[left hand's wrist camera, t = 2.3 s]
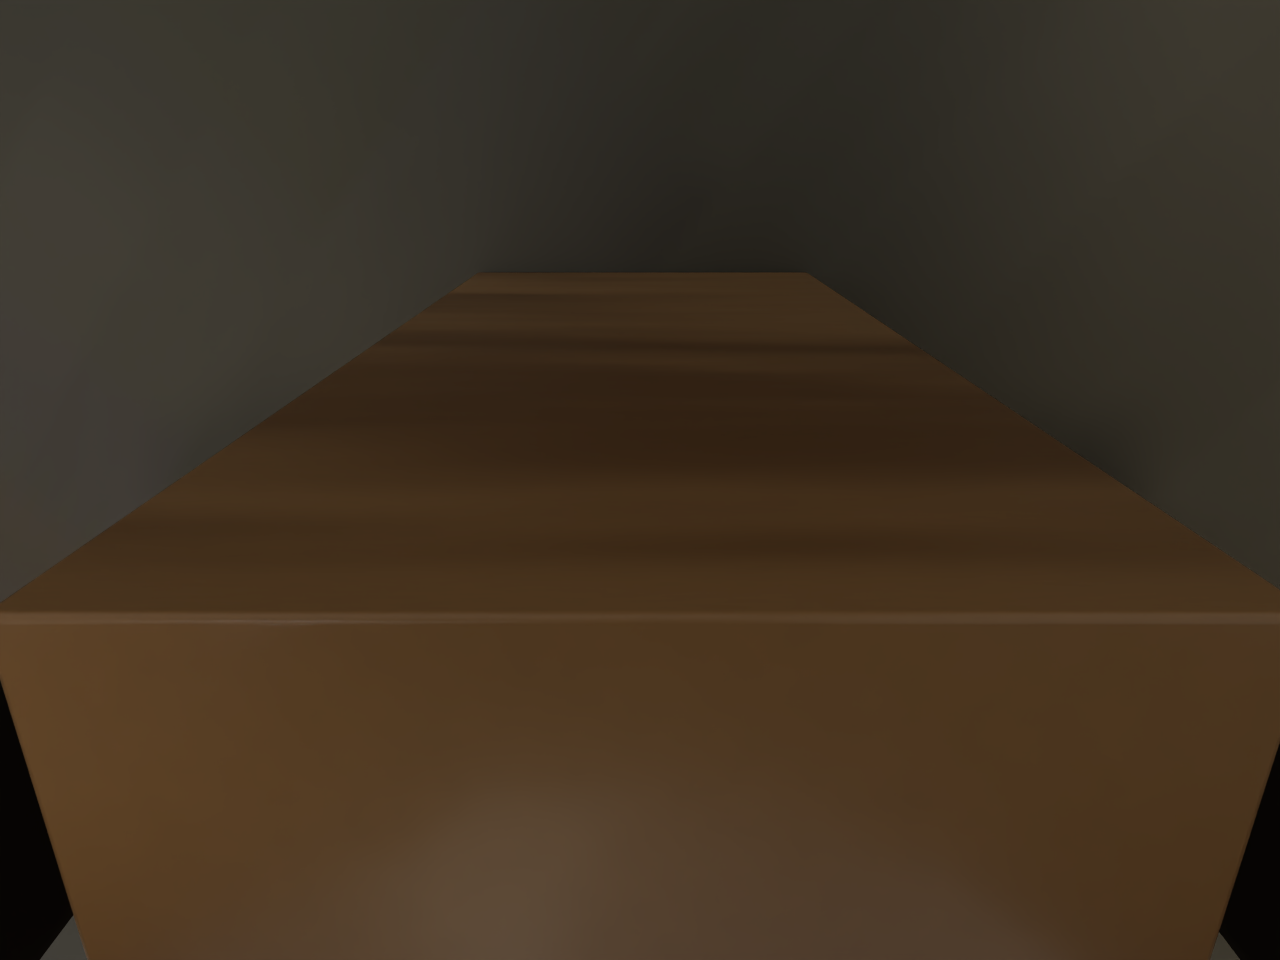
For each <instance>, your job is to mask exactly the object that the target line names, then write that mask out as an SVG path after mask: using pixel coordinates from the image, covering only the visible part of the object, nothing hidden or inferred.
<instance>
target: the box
mask: <svg viewBox="0 0 1280 960" xmlns="http://www.w3.org/2000/svg"><path fill="white" fill-rule="evenodd" d="M0 681H1V684H2V687H3V690H4V694H5V697H6V700H7V703H8V706H9V710H10V713H11V716H12V719H13V723H14V726H15V729H16V732H17V735H18V739H19V742H20V745H21V748H22V751H23V755H24V758H25V761H26V764H27V767H28V771H29V774H30V777H31V780H32V783H33V787H34V790H35V793H36V796H37V800H38V803H39V806H40V809H41V812H42V816H43V819H44V822H45V825H46V828H47V832H48V835H49V838H50V841H51V844H52V848H53V851H54V854H55V857H56V861H57V864H58V867H59V870H60V873H61V877H62V880H63V883H64V886H65V889H66V893H67V896H68V899H69V902H70V905H71V909H72V912H73V915H74V918H75V922H76V925H77V928H78V931H79V934H80V938H81V941H82V944H83V947H84V950H85V954H86V957H87V960H1210V958H1211V955H1212V951H1213V948H1214V945H1215V942H1216V939H1217V936H1218V933H1219V930H1220V927H1221V923H1222V920H1223V917H1224V914H1225V911H1226V908H1227V905H1228V902H1229V899H1230V895H1231V892H1232V889H1233V886H1234V883H1235V880H1236V877H1237V874H1238V871H1239V867H1240V864H1241V861H1242V858H1243V855H1244V852H1245V849H1246V846H1247V842H1248V839H1249V836H1250V833H1251V830H1252V827H1253V824H1254V821H1255V818H1256V814H1257V811H1258V808H1259V805H1260V802H1261V799H1262V796H1263V793H1264V790H1265V786H1266V783H1267V780H1268V777H1269V774H1270V771H1271V768H1272V765H1273V762H1274V758H1275V755H1276V752H1277V749H1278V746H1279V743H1280V589H1278V588H1277V587H1275V586H1274V585H1272V584H1271V583H1269V582H1268V581H1266V580H1265V579H1263V578H1262V577H1260V576H1259V575H1257V574H1256V573H1254V572H1253V571H1251V570H1250V569H1248V568H1247V567H1245V566H1244V565H1242V564H1241V563H1239V562H1238V561H1236V560H1235V559H1234V558H1232V557H1231V556H1229V555H1228V554H1226V553H1225V552H1223V551H1222V550H1220V549H1219V548H1217V547H1216V546H1214V545H1213V544H1211V543H1210V542H1208V541H1207V540H1205V539H1204V538H1202V537H1201V536H1199V535H1198V534H1196V533H1195V532H1193V531H1192V530H1190V529H1189V528H1187V527H1186V526H1184V525H1183V524H1181V523H1180V522H1178V521H1177V520H1175V519H1174V518H1172V517H1171V516H1169V515H1168V514H1166V513H1165V512H1163V511H1162V510H1160V509H1159V508H1157V507H1156V506H1154V505H1153V504H1151V503H1150V502H1148V501H1147V500H1145V499H1144V498H1142V497H1141V496H1140V495H1138V494H1137V493H1135V492H1134V491H1132V490H1131V489H1129V488H1128V487H1126V486H1125V485H1123V484H1122V483H1120V482H1119V481H1117V480H1116V479H1114V478H1113V477H1111V476H1110V475H1108V474H1107V473H1105V472H1104V471H1102V470H1101V469H1099V468H1098V467H1096V466H1095V465H1093V464H1092V463H1090V462H1089V461H1087V460H1086V459H1084V458H1083V457H1081V456H1080V455H1078V454H1077V453H1075V452H1074V451H1072V450H1071V449H1069V448H1068V447H1066V446H1065V445H1063V444H1062V443H1060V442H1059V441H1057V440H1056V439H1054V438H1053V437H1051V436H1050V435H1048V434H1047V433H1046V432H1044V431H1043V430H1041V429H1040V428H1038V427H1037V426H1035V425H1034V424H1032V423H1031V422H1029V421H1028V420H1026V419H1025V418H1023V417H1022V416H1020V415H1019V414H1017V413H1016V412H1014V411H1013V410H1011V409H1010V408H1008V407H1007V406H1005V405H1004V404H1002V403H1001V402H999V401H998V400H996V399H995V398H993V397H992V396H990V395H989V394H987V393H986V392H984V391H983V390H981V389H980V388H978V387H977V386H975V385H974V384H972V383H971V382H969V381H968V380H966V379H965V378H963V377H962V376H960V375H959V374H957V373H956V372H954V371H953V370H952V369H950V368H949V367H947V366H946V365H944V364H943V363H941V362H940V361H938V360H937V359H935V358H934V357H932V356H931V355H929V354H928V353H926V352H925V351H923V350H922V349H920V348H919V347H917V346H916V345H914V344H913V343H911V342H910V341H908V340H907V339H905V338H904V337H902V336H901V335H899V334H898V333H896V332H895V331H893V330H892V329H890V328H889V327H887V326H886V325H884V324H883V323H881V322H880V321H878V320H877V319H875V318H874V317H872V316H871V315H869V314H868V313H866V312H865V311H863V310H862V309H860V308H859V307H858V306H856V305H855V304H853V303H852V302H850V301H849V300H847V299H846V298H844V297H843V296H841V295H840V294H838V293H837V292H835V291H834V290H832V289H831V288H829V287H828V286H826V285H825V284H823V283H822V282H820V281H819V280H817V279H816V278H814V277H813V276H811V275H810V274H808V273H806V272H479V273H477V274H476V275H474V276H473V277H471V278H470V279H468V280H467V281H465V282H464V283H463V284H461V285H460V286H458V287H457V288H455V289H454V290H452V291H451V292H450V293H448V294H447V295H445V296H444V297H442V298H441V299H439V300H438V301H437V302H435V303H434V304H432V305H431V306H429V307H428V308H426V309H425V310H423V311H422V312H421V313H419V314H418V315H416V316H415V317H413V318H412V319H410V320H409V321H408V322H406V323H405V324H403V325H402V326H400V327H399V328H397V329H396V330H395V331H393V332H392V333H390V334H389V335H387V336H386V337H384V338H383V339H381V340H380V341H379V342H377V343H376V344H374V345H373V346H371V347H370V348H368V349H367V350H366V351H364V352H363V353H361V354H360V355H358V356H357V357H355V358H354V359H353V360H351V361H350V362H348V363H347V364H345V365H344V366H342V367H341V368H339V369H338V370H337V371H335V372H334V373H332V374H331V375H329V376H328V377H326V378H325V379H324V380H322V381H321V382H319V383H318V384H316V385H315V386H313V387H312V388H311V389H309V390H308V391H306V392H305V393H303V394H302V395H300V396H299V397H297V398H296V399H295V400H293V401H292V402H290V403H289V404H287V405H286V406H284V407H283V408H282V409H280V410H279V411H277V412H276V413H274V414H273V415H271V416H270V417H269V418H267V419H266V420H264V421H263V422H261V423H260V424H258V425H257V426H255V427H254V428H253V429H251V430H250V431H248V432H247V433H245V434H244V435H242V436H241V437H240V438H238V439H237V440H235V441H234V442H232V443H231V444H229V445H228V446H227V447H225V448H224V449H222V450H221V451H219V452H218V453H216V454H215V455H213V456H212V457H211V458H209V459H208V460H206V461H205V462H203V463H202V464H200V465H199V466H198V467H196V468H195V469H193V470H192V471H190V472H189V473H187V474H186V475H185V476H183V477H182V478H180V479H179V480H177V481H176V482H174V483H173V484H171V485H170V486H169V487H167V488H166V489H164V490H163V491H161V492H160V493H158V494H157V495H156V496H154V497H153V498H151V499H150V500H148V501H147V502H145V503H144V504H143V505H141V506H140V507H138V508H137V509H135V510H134V511H132V512H131V513H129V514H128V515H127V516H125V517H124V518H122V519H121V520H119V521H118V522H116V523H115V524H114V525H112V526H111V527H109V528H108V529H106V530H105V531H103V532H102V533H101V534H99V535H98V536H96V537H95V538H93V539H92V540H90V541H89V542H87V543H86V544H85V545H83V546H82V547H80V548H79V549H77V550H76V551H74V552H73V553H72V554H70V555H69V556H67V557H66V558H64V559H63V560H61V561H60V562H59V563H57V564H56V565H54V566H53V567H51V568H50V569H48V570H47V571H45V572H44V573H43V574H41V575H40V576H38V577H37V578H35V579H34V580H32V581H31V582H30V583H28V584H27V585H25V586H24V587H22V588H21V589H19V590H18V591H17V592H15V593H14V594H12V595H11V596H9V597H8V598H6V599H5V600H3V601H2V602H1V603H0Z"/></svg>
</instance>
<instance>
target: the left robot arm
mask: <svg viewBox="0 0 1280 960" xmlns="http://www.w3.org/2000/svg"><path fill="white" fill-rule="evenodd" d="M72 916H73V912H72V909H71V905H70V902H69V899H68V896H67V893H66V889H65V886H64V883H63V880H62V877H61V873H60V870H59V867H58V864H57V861H56V857H55V854H54V851H53V848H52V844H51V841H50V838H49V835H48V832H47V828H46V825H45V822H44V819H43V816H42V812H41V809H40V806H39V803H38V800H37V796H36V793H35V790H34V787H33V783H32V780H31V777H30V774H29V771H28V767H27V764H26V761H25V758H24V755H23V751H22V748H21V745H20V742H19V739H18V735H17V732H16V729H15V726H14V723H13V719H12V716H11V713H10V710H9V706H8V703H7V700H6V697H5V694H4V690H3V687H2V684H1V681H0V960H40V959H41V957H42V956H43V955H44V953H45V952H46V951H47V949H48V948H49V947H50V945H51V944H52V943H53V941H54V940H55V939H56V937H57V936H58V935H59V933H60V932H61V931H62V929H63V928H64V927H65V925H66V924H67V923H68V921H69V920H70V919H71V917H72ZM1219 932H1220V933H1221V935H1222V936H1223V937H1224V939H1225V940H1226V941H1227V943H1228V944H1229V945H1230V947H1231V948H1232V949H1233V951H1234V952H1235V953H1236V954H1237V956H1238V957H1239V958H1240V960H1280V743H1279V746H1278V749H1277V752H1276V755H1275V758H1274V762H1273V765H1272V768H1271V771H1270V774H1269V777H1268V780H1267V783H1266V786H1265V790H1264V793H1263V796H1262V799H1261V802H1260V805H1259V808H1258V811H1257V814H1256V818H1255V821H1254V824H1253V827H1252V830H1251V833H1250V836H1249V839H1248V842H1247V846H1246V849H1245V852H1244V855H1243V858H1242V861H1241V864H1240V867H1239V871H1238V874H1237V877H1236V880H1235V883H1234V886H1233V889H1232V892H1231V895H1230V899H1229V902H1228V905H1227V908H1226V911H1225V914H1224V917H1223V920H1222V923H1221V927H1220V930H1219Z"/></svg>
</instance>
